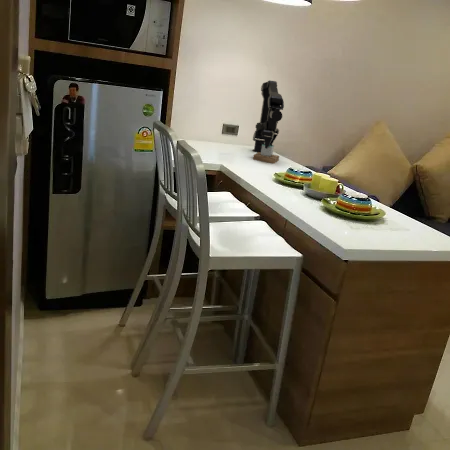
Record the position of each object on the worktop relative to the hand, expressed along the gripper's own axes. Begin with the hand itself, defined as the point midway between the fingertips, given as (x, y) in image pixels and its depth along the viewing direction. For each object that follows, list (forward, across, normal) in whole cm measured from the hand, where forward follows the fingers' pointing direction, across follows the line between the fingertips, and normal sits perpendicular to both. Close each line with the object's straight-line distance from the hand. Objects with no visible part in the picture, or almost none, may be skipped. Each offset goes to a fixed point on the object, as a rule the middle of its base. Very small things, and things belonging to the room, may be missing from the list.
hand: (268, 147), depth 285 cm
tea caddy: (+4, 0, 0) cm, 5 cm away
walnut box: (+8, 0, 0) cm, 8 cm away
